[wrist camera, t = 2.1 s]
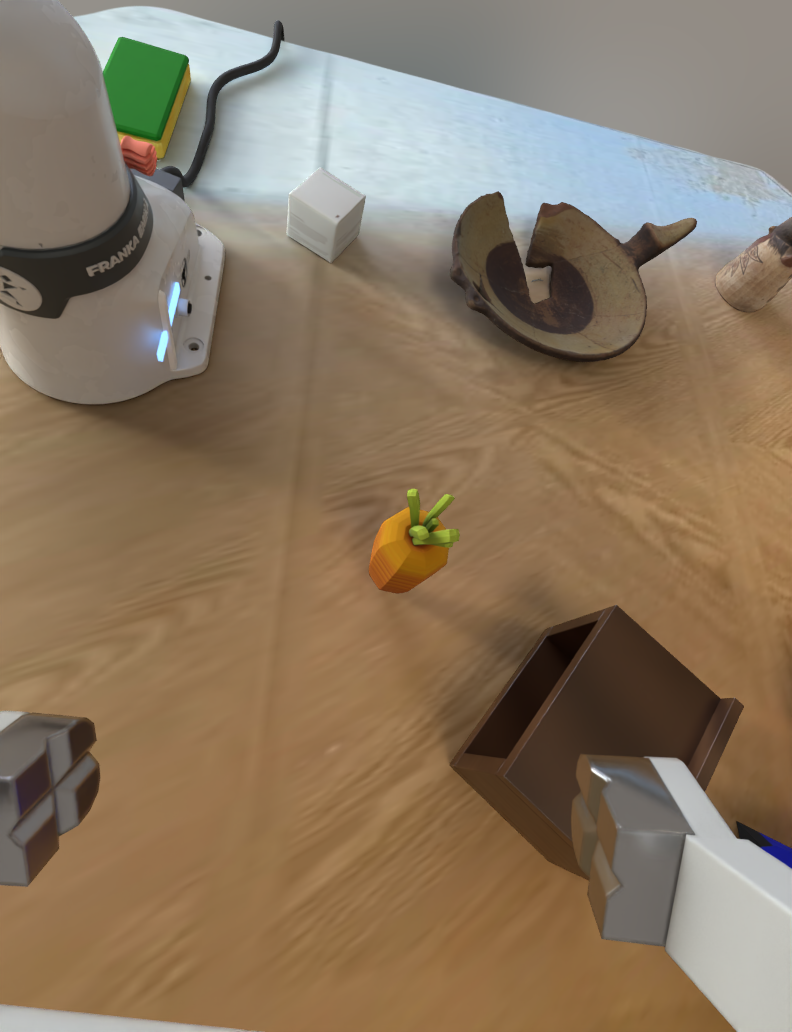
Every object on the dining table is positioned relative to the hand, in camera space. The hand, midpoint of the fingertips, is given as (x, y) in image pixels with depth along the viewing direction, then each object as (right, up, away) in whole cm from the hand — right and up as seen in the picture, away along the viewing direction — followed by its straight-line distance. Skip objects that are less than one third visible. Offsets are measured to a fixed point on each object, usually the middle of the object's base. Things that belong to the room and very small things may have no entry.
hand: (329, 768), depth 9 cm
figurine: (+46, +34, +60) cm, 83 cm away
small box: (-7, +34, +47) cm, 58 cm away
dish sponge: (-26, +48, +48) cm, 72 cm away
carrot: (0, -1, +35) cm, 35 cm away
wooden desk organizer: (+13, -13, +33) cm, 38 cm away
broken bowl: (+20, +28, +52) cm, 62 cm away
